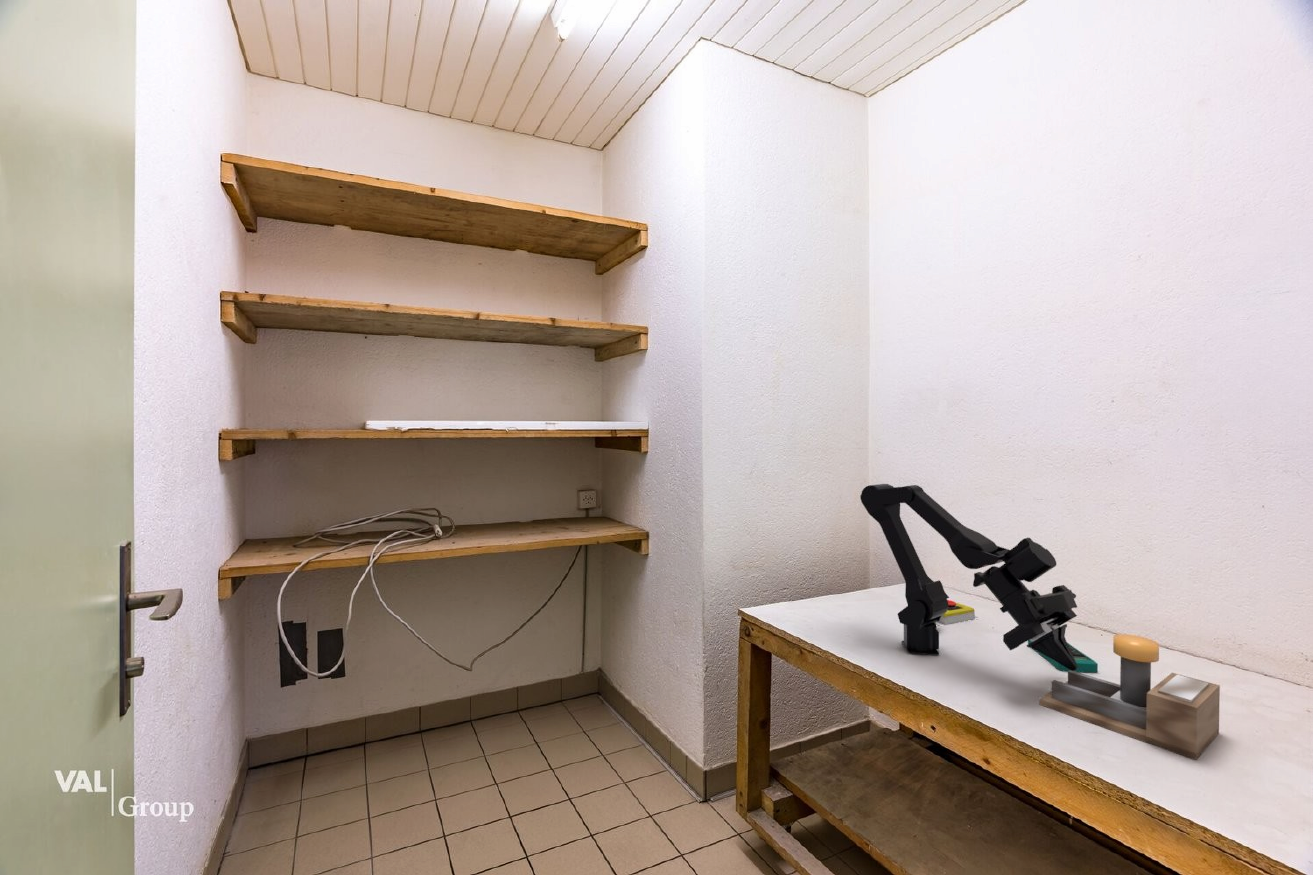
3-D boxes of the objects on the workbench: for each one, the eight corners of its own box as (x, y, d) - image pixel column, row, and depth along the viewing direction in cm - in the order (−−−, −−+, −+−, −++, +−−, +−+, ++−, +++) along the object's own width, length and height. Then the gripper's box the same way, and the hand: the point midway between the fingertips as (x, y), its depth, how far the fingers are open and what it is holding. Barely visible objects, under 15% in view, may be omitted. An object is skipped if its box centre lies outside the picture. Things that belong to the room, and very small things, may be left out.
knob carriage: (1107, 713, 100) (1107, 639, 99) (1119, 703, 103) (1120, 631, 103) (1151, 728, 95) (1152, 650, 94) (1163, 717, 98) (1164, 642, 98)
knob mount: (1039, 704, 105) (1039, 658, 105) (1068, 685, 113) (1069, 642, 112) (1196, 760, 88) (1197, 705, 87) (1218, 733, 95) (1219, 682, 95)
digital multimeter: (1060, 647, 133) (1060, 634, 133) (1099, 675, 118) (1099, 661, 118) (1025, 646, 134) (1025, 633, 134) (1059, 673, 119) (1059, 659, 119)
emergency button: (980, 603, 151) (938, 611, 146) (980, 620, 151) (938, 628, 146) (950, 594, 160) (909, 600, 154) (950, 609, 160) (909, 617, 154)
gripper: (1023, 580, 104) (1093, 662, 96) (1066, 565, 115) (1133, 637, 106) (977, 611, 111) (1039, 690, 103) (1022, 594, 122) (1081, 664, 113)
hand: (1075, 669), depth 106 cm, fingers closed
